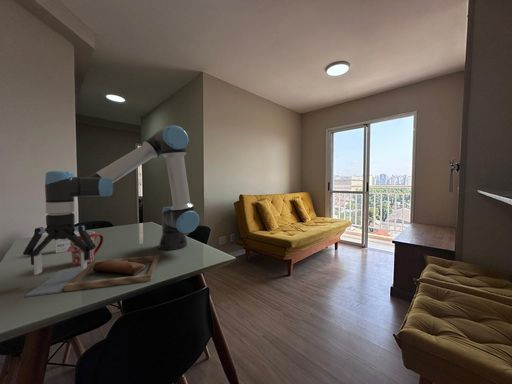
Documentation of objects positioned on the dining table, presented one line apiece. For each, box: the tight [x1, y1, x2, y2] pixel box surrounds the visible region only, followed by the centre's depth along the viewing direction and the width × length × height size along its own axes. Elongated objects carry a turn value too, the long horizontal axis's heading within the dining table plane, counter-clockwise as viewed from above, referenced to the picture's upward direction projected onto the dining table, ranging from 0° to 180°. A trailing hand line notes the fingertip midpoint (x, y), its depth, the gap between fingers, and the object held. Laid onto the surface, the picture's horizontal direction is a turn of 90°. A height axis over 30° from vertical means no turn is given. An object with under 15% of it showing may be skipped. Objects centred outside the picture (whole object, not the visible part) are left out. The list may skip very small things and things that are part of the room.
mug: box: [70, 230, 104, 267], centre depth 94 cm, size 13×9×14 cm
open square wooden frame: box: [63, 254, 160, 293], centre depth 83 cm, size 26×23×2 cm
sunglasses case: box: [93, 259, 147, 276], centre depth 84 cm, size 18×7×7 cm
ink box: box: [54, 230, 78, 254], centre depth 109 cm, size 8×5×12 cm, turn 133°
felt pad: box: [25, 267, 83, 298], centre depth 75 cm, size 9×20×1 cm, turn 18°
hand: (61, 270), depth 75 cm, fingers open, 13 cm apart
